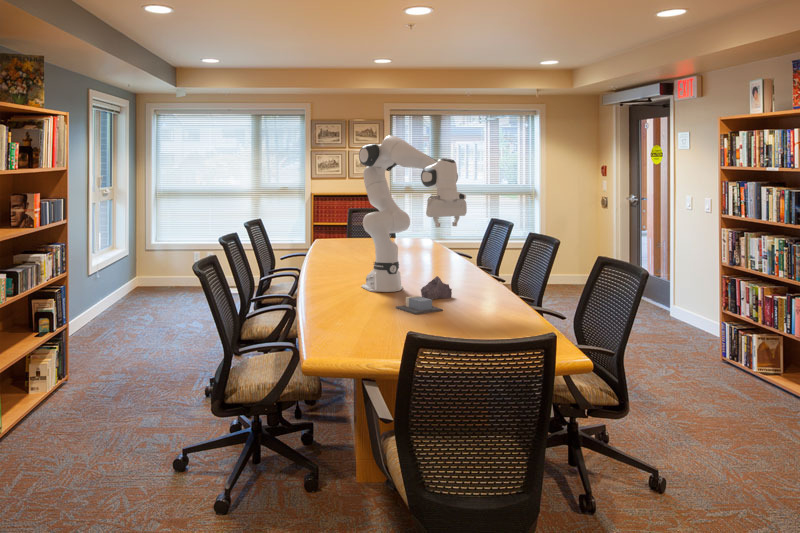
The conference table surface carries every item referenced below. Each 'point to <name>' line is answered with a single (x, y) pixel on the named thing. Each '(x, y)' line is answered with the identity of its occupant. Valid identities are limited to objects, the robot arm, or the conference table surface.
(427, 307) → the block
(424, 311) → the mat
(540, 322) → the conference table surface
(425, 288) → the stone
